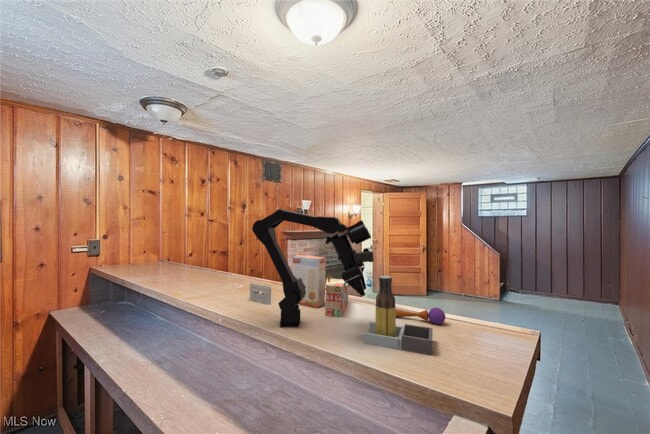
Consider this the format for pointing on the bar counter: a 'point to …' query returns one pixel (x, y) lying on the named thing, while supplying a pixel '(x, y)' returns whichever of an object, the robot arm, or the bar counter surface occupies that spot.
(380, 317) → the sauce bottle
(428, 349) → the grey compartment tray
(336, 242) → the robot arm
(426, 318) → the kendama
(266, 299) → the cassette
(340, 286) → the printed food box
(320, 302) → the cracker box
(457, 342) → the bar counter surface
